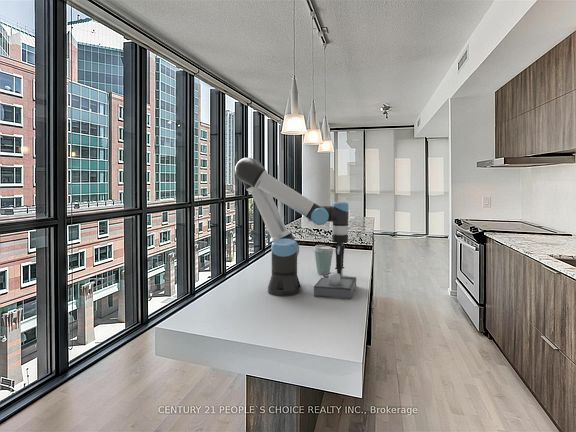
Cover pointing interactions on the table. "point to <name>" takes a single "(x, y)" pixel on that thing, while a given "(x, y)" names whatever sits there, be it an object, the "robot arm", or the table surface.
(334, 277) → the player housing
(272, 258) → the robot arm
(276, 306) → the table surface
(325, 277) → the tray
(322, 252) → the disposable coffee cup
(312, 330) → the table surface
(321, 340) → the table surface
